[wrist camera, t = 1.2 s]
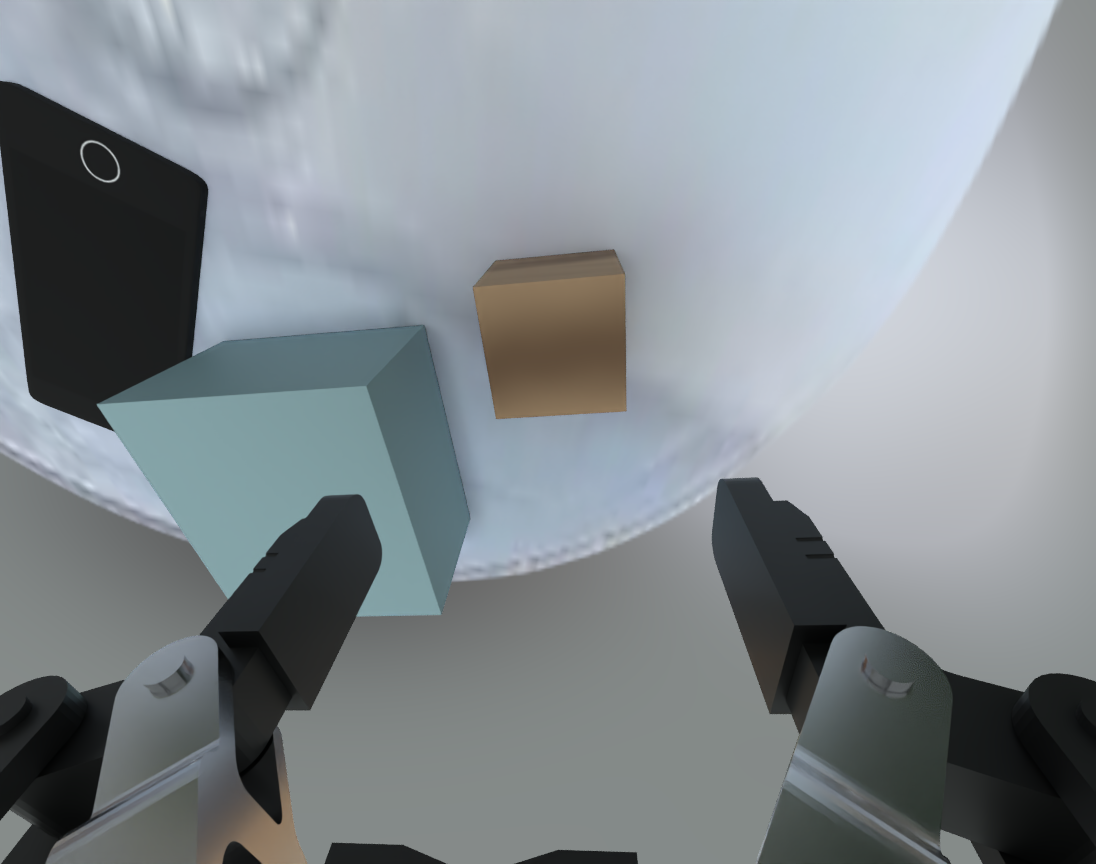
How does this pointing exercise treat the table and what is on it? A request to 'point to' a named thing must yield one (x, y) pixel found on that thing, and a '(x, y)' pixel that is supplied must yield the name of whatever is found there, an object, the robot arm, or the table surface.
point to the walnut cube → (554, 334)
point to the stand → (305, 453)
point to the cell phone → (96, 253)
